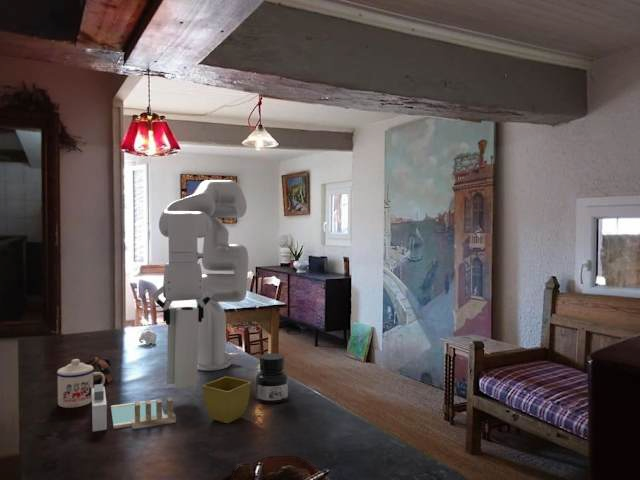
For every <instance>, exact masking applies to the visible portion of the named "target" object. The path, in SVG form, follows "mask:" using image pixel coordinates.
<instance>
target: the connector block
mask: <svg viewBox="0 0 640 480" xmlns="http://www.w3.org/2000/svg"><path fill="white" fill-rule="evenodd" d="M105 389H106V388H105V386H104V385H103V384H98V383H97V384H93V388H92V402H91V417H92V420H91V421H92V424H91V425H92V432H93V433H94V432H98V431H99V432H100V431H106V430H107V428H108V427H107V425H108V424H107V419H108V418H107V415H108V413H107V411H108V410H107V409H108V407H107V405H108V404H107V398H106V397H107V396H106V390H105Z"/></svg>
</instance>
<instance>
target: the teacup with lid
mask: <svg viewBox="0 0 640 480" xmlns="http://www.w3.org/2000/svg"><path fill="white" fill-rule="evenodd" d="M84 363H85V362H81V360H80V359H78V358H75V359H72V360H71V363H69V364H67V365H65V366H63V367H61V368H59V369H58V370H57V372H56V376H57V404H58V406H59V407H62V408H66V409H67V408H68V409H71V408H73V409H74V408H79V407H83V406H86V405H90V403H91V404H92V388H94V376H101V382H100V384H103V386H104V385H105V383H106V375H104V374H103V373H101V371H99V372H93V371H94V368H93V366H91V365H86V364H84Z"/></svg>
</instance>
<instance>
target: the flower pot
mask: <svg viewBox="0 0 640 480" xmlns="http://www.w3.org/2000/svg"><path fill="white" fill-rule="evenodd" d="M251 385H252V381H248V380H245V379H240V378H235V377H232V376H223V377H221V378H219V379H216V380H213V381H211V382H208V383H207V382H206V383H205V384H203V385H202V392H203V399H204V404H205V408H206V410H207V413H208V414H209V415H210V418H212V419H213V420H215V421H218V422H220V423H225V424H230V423H232V422H234V421H236V420H238V419H240V418H241V417H242V416H243V414H244V413H245V411H246V409H247V407H248V404H249V401H250V394H251V393H250V392H251V387H252V386H251Z"/></svg>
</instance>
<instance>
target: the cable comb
mask: <svg viewBox="0 0 640 480" xmlns="http://www.w3.org/2000/svg"><path fill="white" fill-rule="evenodd" d="M155 400H156V416H151V402H150V400H145V401H146V417H144V418H140V403H139V402H140V401H136V402H134V403H135V419H131V423H132V426H131V429H132V430H135V429H142V428H149V427H154V426H155V427H156V426H161V425H167V424H168V425H169V424H173V423H175V424H176V420H177V417H176V416H177V415H176V414H175V413H174V412H173V411H174V410H173V406H174V405H173V404H174V402H173V399H172V397H167V398H166V414H165V413H164V415H162V409H163V402H162V399H161V398H157V399H155Z"/></svg>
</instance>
